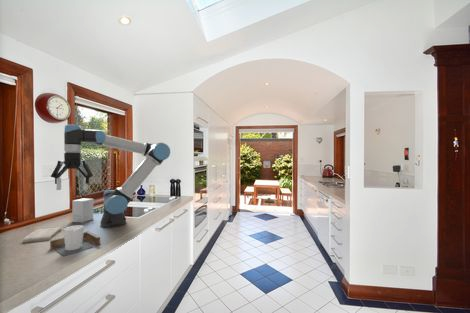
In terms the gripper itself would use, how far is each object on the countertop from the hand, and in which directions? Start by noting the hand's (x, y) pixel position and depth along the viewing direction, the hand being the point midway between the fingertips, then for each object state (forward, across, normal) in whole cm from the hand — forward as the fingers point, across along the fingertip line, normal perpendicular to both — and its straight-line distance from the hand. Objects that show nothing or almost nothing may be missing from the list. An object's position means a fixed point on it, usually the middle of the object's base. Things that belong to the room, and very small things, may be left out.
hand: (72, 189), depth 121 cm
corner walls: (+27, +10, -15) cm, 32 cm away
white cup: (+27, +10, -17) cm, 33 cm away
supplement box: (+27, -10, +32) cm, 43 cm away
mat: (+27, +10, -17) cm, 33 cm away
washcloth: (+27, -16, +4) cm, 32 cm away
